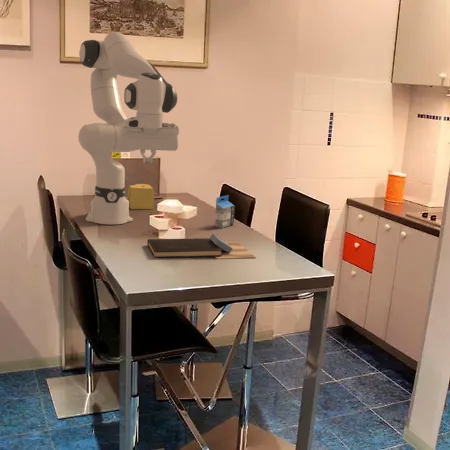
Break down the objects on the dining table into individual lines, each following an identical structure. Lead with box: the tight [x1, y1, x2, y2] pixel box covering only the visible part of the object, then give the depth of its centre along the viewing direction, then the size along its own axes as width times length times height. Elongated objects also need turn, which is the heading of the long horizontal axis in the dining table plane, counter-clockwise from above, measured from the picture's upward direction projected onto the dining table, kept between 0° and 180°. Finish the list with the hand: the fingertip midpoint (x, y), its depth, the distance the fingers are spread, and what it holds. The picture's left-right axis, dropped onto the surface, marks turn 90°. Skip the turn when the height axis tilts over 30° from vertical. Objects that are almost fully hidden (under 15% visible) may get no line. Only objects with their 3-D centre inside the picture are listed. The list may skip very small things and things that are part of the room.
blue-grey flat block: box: [209, 233, 232, 253], centre depth 213 cm, size 9×6×2 cm
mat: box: [215, 241, 256, 260], centre depth 215 cm, size 20×14×1 cm
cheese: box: [126, 183, 155, 210], centre depth 274 cm, size 10×11×10 cm
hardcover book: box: [146, 237, 222, 259], centre depth 209 cm, size 16×23×2 cm
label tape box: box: [214, 194, 236, 229], centre depth 250 cm, size 9×4×12 cm, turn 146°
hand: (147, 162), depth 209 cm, fingers closed
